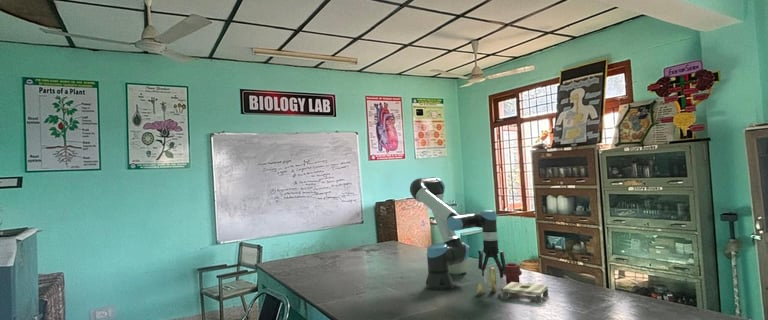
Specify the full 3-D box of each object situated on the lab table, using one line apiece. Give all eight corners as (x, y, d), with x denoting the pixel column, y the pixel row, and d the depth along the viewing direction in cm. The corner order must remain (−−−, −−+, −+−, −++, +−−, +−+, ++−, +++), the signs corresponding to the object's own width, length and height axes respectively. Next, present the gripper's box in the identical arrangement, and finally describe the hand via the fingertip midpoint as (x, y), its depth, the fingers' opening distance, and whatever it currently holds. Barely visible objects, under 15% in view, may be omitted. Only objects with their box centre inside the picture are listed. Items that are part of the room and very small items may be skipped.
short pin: (476, 294, 220) (476, 284, 220) (478, 293, 222) (478, 283, 222) (482, 295, 218) (481, 285, 218) (484, 293, 221) (483, 284, 221)
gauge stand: (503, 298, 210) (502, 288, 210) (512, 291, 222) (511, 281, 222) (540, 303, 200) (539, 292, 200) (548, 295, 211) (547, 285, 211)
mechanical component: (521, 283, 235) (523, 288, 226) (502, 283, 237) (504, 288, 228) (520, 261, 236) (522, 265, 226) (501, 261, 238) (502, 265, 228)
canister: (439, 270, 278) (437, 238, 278) (466, 268, 280) (463, 236, 280) (446, 277, 260) (443, 242, 260) (474, 274, 262) (472, 240, 262)
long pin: (489, 291, 224) (488, 268, 224) (492, 290, 226) (490, 267, 227) (495, 292, 222) (493, 268, 223) (497, 290, 225) (495, 267, 225)
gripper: (469, 239, 228) (472, 283, 227) (506, 241, 216) (509, 287, 216) (475, 237, 234) (478, 279, 233) (511, 239, 223) (514, 283, 222)
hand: (493, 283), depth 225 cm, fingers open, 7 cm apart
